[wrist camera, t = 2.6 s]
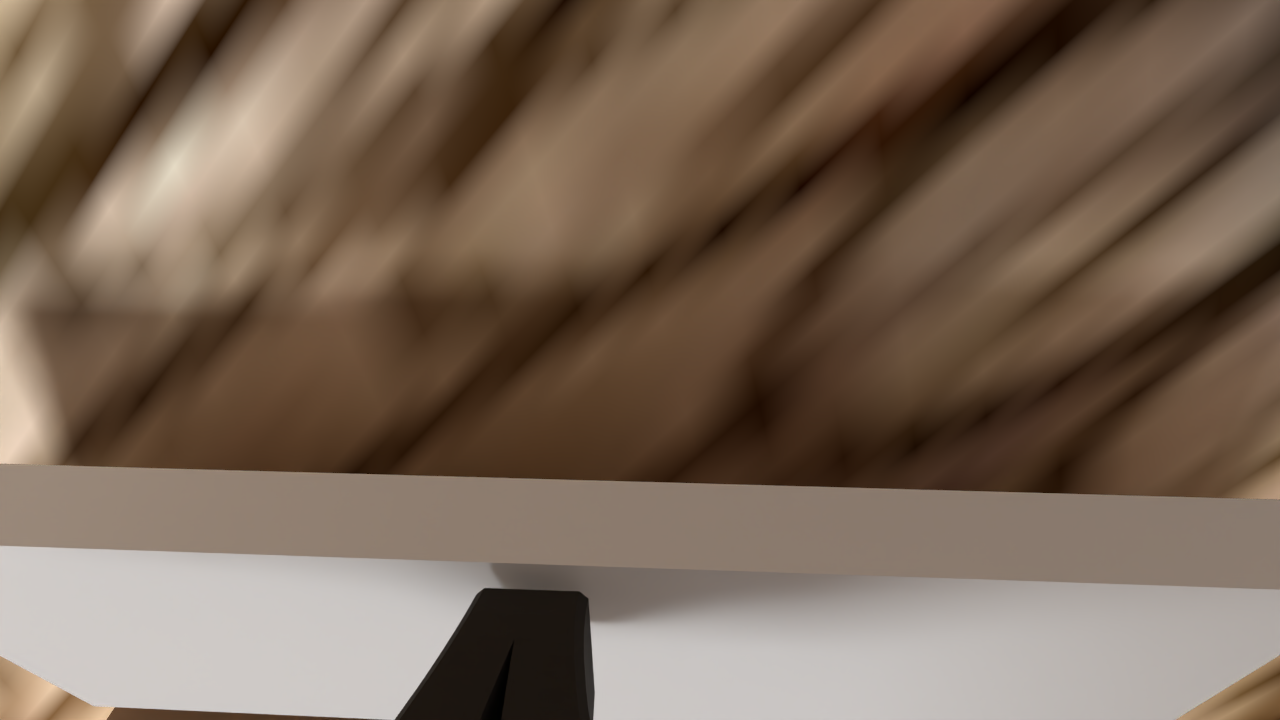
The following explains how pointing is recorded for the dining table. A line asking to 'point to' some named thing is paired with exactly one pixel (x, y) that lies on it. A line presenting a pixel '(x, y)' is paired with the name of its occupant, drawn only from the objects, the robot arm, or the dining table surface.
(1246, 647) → the grey plank
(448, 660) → the robot arm
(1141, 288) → the dining table surface
